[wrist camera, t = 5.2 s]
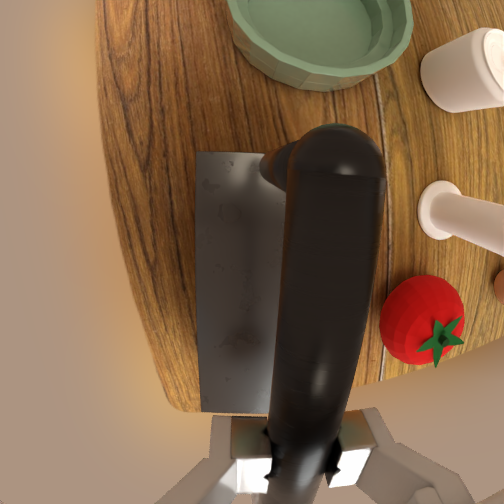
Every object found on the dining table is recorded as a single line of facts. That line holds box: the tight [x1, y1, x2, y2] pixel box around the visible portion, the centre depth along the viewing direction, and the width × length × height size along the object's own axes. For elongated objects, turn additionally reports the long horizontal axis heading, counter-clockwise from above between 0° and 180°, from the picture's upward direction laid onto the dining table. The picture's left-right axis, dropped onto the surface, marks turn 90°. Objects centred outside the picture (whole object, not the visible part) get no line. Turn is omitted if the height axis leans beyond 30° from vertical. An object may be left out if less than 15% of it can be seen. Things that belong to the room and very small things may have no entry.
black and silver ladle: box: [251, 123, 386, 504], centre depth 13 cm, size 24×6×11 cm, turn 178°
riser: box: [195, 151, 286, 414], centre depth 30 cm, size 10×24×9 cm, turn 178°
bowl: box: [225, 0, 414, 92], centre depth 24 cm, size 18×18×7 cm
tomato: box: [379, 275, 464, 367], centre depth 31 cm, size 10×10×10 cm
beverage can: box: [420, 28, 504, 113], centre depth 23 cm, size 8×8×12 cm
